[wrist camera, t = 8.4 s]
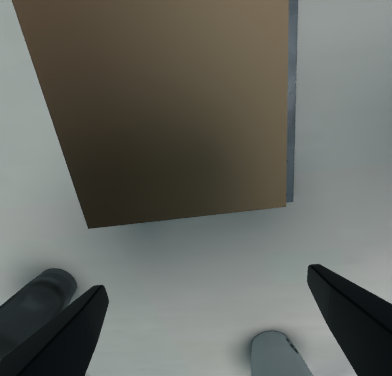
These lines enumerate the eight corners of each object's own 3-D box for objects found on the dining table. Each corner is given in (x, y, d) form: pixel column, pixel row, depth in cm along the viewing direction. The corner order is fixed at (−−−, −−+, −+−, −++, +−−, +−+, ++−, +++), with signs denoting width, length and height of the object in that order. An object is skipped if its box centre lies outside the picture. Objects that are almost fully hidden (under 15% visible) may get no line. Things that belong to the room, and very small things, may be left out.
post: (218, 79, 12) (293, -73, 3) (224, 147, 13) (288, 208, 4) (152, 88, 12) (1, -21, 3) (164, 154, 14) (86, 231, 4)
